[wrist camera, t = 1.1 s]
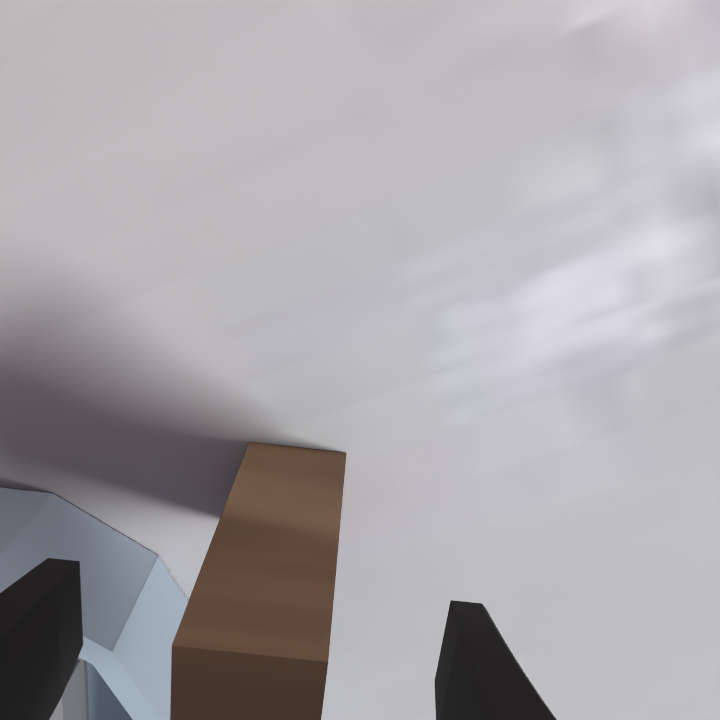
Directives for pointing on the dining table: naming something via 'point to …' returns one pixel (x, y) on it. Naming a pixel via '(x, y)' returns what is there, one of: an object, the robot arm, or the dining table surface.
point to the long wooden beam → (264, 593)
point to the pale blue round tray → (100, 606)
